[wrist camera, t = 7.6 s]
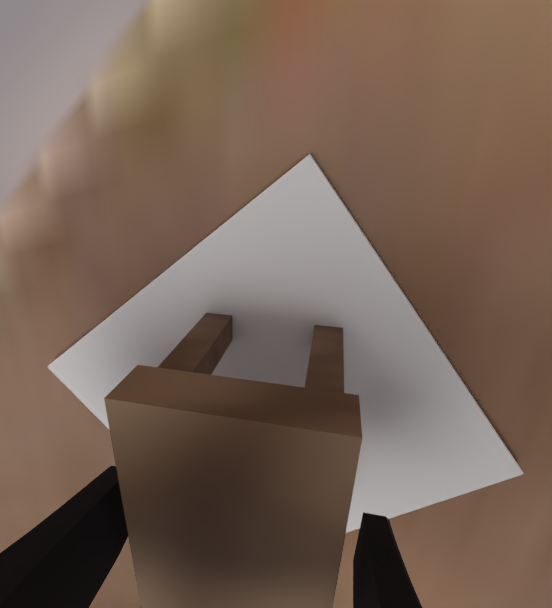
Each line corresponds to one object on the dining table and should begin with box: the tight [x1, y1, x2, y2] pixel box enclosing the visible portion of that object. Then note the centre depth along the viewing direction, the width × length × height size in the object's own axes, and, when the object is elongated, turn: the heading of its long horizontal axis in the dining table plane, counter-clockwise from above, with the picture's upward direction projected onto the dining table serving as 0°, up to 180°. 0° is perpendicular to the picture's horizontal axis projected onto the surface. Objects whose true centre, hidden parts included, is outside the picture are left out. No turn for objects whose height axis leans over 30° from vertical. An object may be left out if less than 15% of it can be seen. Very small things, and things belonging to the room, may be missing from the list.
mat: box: [47, 154, 523, 533], centre depth 14 cm, size 14×14×1 cm
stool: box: [104, 313, 362, 608], centre depth 12 cm, size 6×9×6 cm, turn 178°
